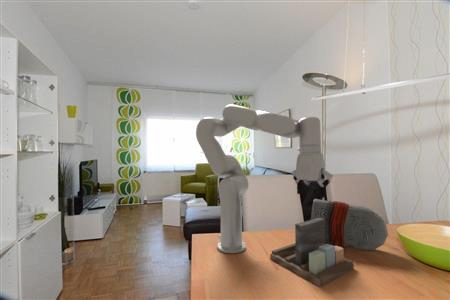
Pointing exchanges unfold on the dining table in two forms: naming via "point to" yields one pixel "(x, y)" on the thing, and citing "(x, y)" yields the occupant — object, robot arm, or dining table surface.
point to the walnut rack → (304, 269)
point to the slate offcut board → (328, 254)
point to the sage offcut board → (317, 262)
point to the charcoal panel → (308, 239)
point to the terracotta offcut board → (339, 255)
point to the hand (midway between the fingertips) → (311, 195)
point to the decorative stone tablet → (350, 225)
